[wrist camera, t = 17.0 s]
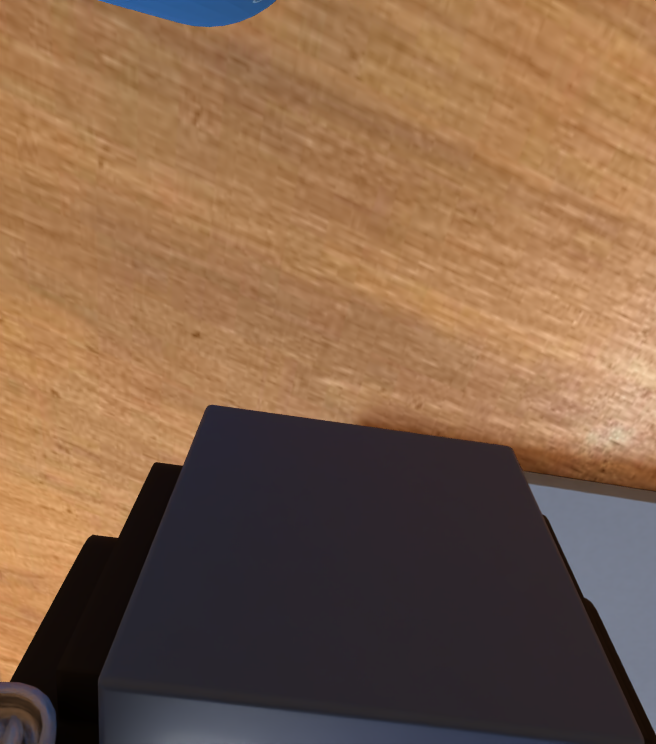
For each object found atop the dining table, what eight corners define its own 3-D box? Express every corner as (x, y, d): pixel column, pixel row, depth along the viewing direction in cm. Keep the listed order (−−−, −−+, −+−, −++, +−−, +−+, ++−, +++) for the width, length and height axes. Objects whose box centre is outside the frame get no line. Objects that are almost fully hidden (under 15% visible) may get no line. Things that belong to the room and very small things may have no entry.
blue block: (190, 623, 12) (100, 956, 7) (206, 401, 10) (94, 683, 5) (442, 654, 12) (501, 993, 8) (512, 444, 10) (652, 746, 6)
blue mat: (283, 763, 32) (281, 779, 31) (346, 442, 23) (345, 454, 23) (657, 817, 33) (664, 834, 32) (856, 522, 24) (872, 536, 23)
